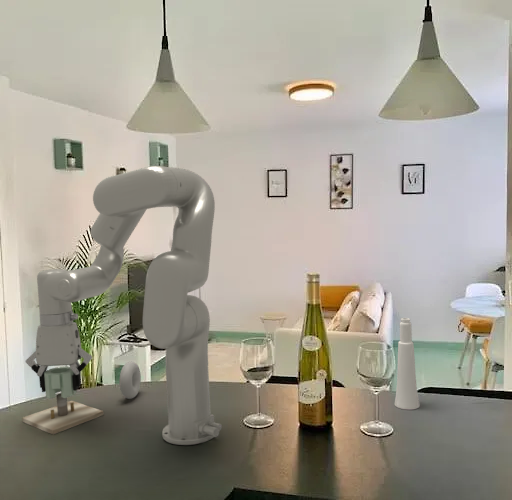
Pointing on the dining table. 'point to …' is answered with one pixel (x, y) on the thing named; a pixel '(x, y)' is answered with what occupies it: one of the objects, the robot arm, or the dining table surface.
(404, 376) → the cosmetic bottle
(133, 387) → the donut
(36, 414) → the post base
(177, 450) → the dining table surface
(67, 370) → the collar
